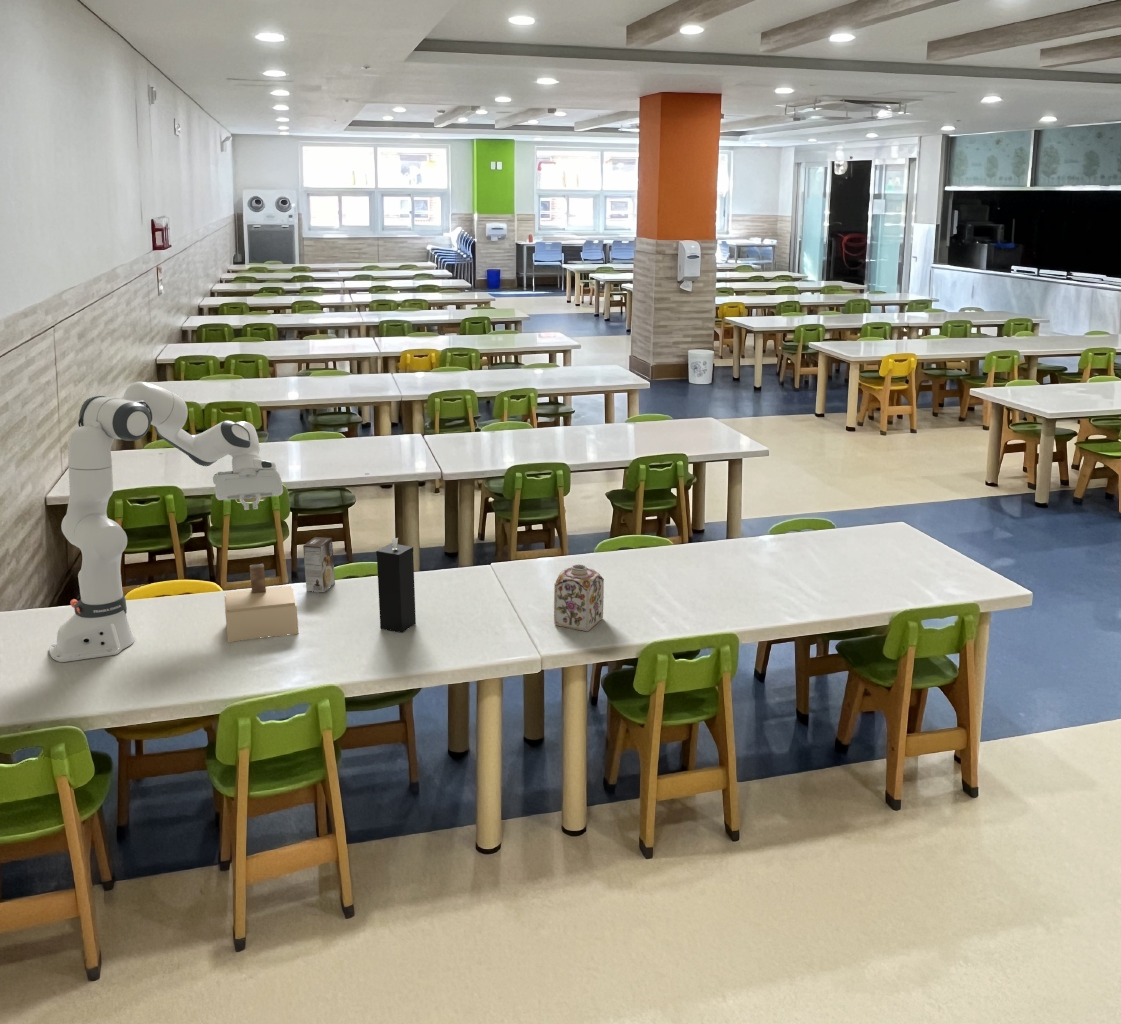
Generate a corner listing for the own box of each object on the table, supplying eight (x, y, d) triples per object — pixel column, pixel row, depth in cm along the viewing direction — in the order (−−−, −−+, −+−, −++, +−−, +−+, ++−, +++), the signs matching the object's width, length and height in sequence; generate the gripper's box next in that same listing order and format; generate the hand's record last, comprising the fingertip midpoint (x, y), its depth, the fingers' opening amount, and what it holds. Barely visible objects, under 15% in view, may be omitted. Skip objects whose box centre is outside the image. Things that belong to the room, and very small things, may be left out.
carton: (228, 641, 313) (225, 613, 310) (226, 623, 325) (224, 595, 323) (298, 633, 318) (296, 605, 316) (294, 616, 331) (292, 588, 329)
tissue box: (416, 624, 326) (413, 536, 318) (402, 633, 319) (398, 544, 311) (394, 619, 329) (390, 532, 321) (379, 628, 322) (375, 540, 314)
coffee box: (317, 581, 359) (314, 536, 354) (335, 583, 358) (332, 537, 353) (305, 591, 351) (302, 545, 346) (324, 593, 349) (321, 546, 345)
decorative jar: (552, 625, 325) (553, 569, 320) (569, 612, 335) (569, 557, 330) (589, 632, 321) (589, 575, 315) (604, 618, 331) (605, 563, 325)
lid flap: (226, 612, 310) (224, 583, 307) (225, 595, 323) (223, 567, 320) (295, 605, 316) (293, 577, 313) (291, 588, 328) (289, 561, 326)
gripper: (211, 467, 332) (215, 506, 326) (280, 462, 338) (284, 501, 332) (213, 477, 337) (216, 516, 331) (280, 472, 343) (284, 510, 337)
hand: (251, 508), depth 332 cm, fingers closed
